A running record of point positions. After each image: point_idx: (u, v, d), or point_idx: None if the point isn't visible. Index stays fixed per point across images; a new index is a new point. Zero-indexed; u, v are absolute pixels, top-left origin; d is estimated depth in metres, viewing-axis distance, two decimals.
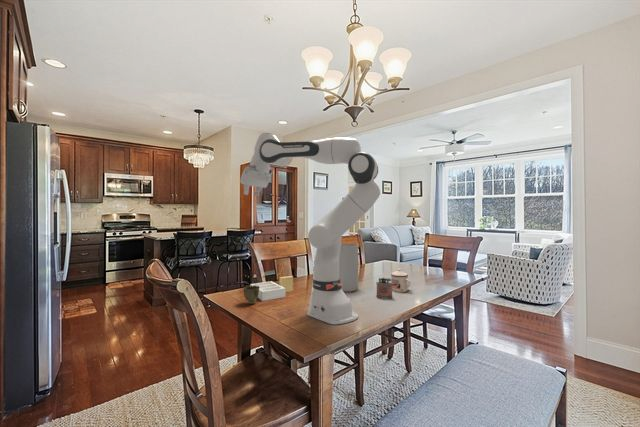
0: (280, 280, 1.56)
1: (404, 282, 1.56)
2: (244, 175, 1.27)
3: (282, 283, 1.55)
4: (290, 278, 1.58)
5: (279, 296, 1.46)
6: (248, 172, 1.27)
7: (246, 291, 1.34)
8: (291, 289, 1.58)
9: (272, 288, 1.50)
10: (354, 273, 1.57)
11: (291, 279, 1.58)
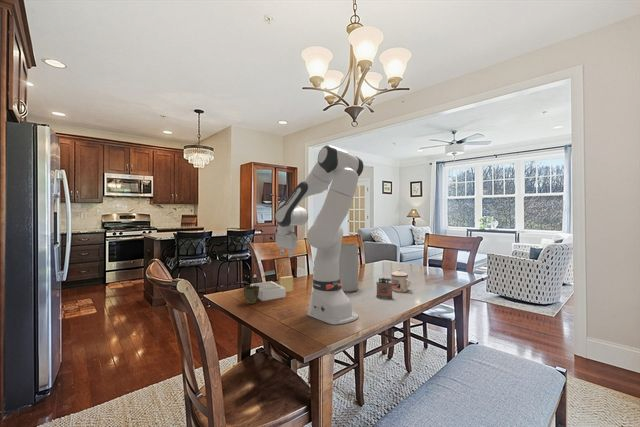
0: (280, 280, 1.56)
1: (404, 282, 1.56)
2: (294, 241, 1.49)
3: (282, 283, 1.55)
4: (290, 278, 1.58)
5: (279, 296, 1.46)
6: (295, 238, 1.50)
7: (246, 291, 1.34)
8: (291, 289, 1.58)
9: (272, 288, 1.50)
10: (354, 273, 1.57)
11: (291, 279, 1.58)
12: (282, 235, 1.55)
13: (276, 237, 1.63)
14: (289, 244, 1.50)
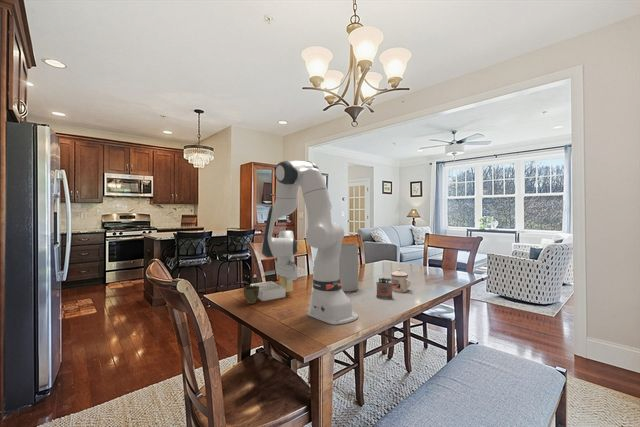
0: (280, 280, 1.56)
1: (404, 282, 1.56)
2: (294, 272, 1.49)
3: (282, 283, 1.55)
4: None
5: (279, 296, 1.46)
6: (296, 268, 1.50)
7: (246, 291, 1.34)
8: (291, 289, 1.58)
9: (272, 288, 1.50)
10: (354, 273, 1.57)
11: None
12: (282, 264, 1.55)
13: (276, 265, 1.63)
14: (289, 275, 1.50)
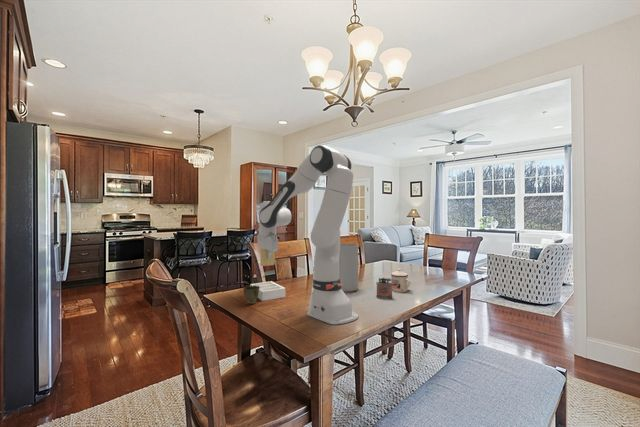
0: (261, 253, 1.50)
1: (404, 282, 1.56)
2: (274, 243, 1.43)
3: (263, 256, 1.49)
4: None
5: (279, 296, 1.46)
6: (276, 240, 1.44)
7: (246, 291, 1.34)
8: (273, 262, 1.52)
9: (272, 288, 1.50)
10: (354, 273, 1.57)
11: (273, 252, 1.52)
12: (263, 236, 1.49)
13: (258, 239, 1.58)
14: (270, 246, 1.44)
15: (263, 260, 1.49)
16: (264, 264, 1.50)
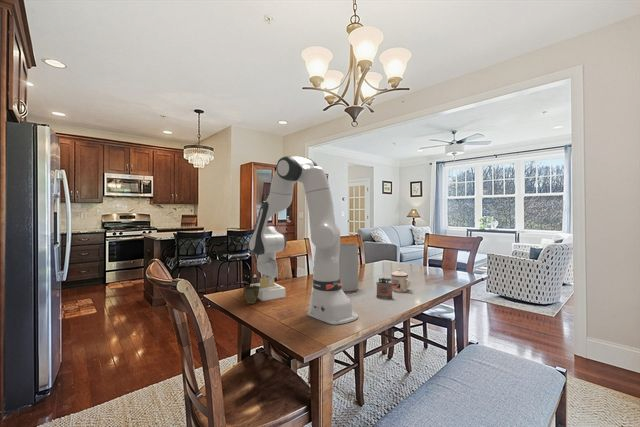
0: (261, 281, 1.50)
1: (404, 282, 1.56)
2: (274, 269, 1.43)
3: (263, 284, 1.49)
4: None
5: (279, 296, 1.46)
6: (276, 266, 1.44)
7: (246, 291, 1.34)
8: None
9: (272, 288, 1.50)
10: (354, 273, 1.57)
11: None
12: (263, 262, 1.49)
13: (257, 263, 1.57)
14: (270, 272, 1.44)
15: None
16: None
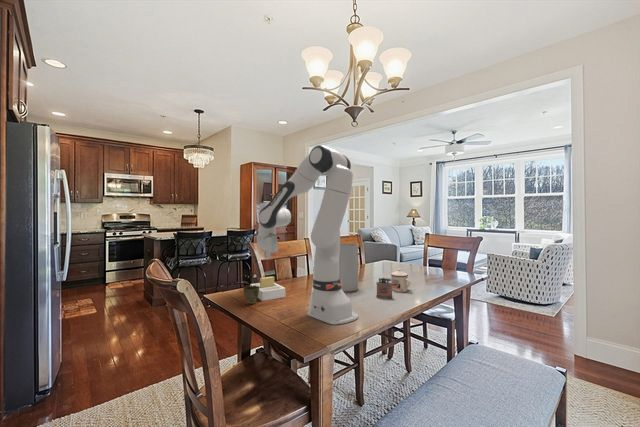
0: (261, 281, 1.50)
1: (404, 282, 1.56)
2: (274, 243, 1.43)
3: (263, 284, 1.49)
4: (272, 279, 1.52)
5: (279, 296, 1.46)
6: (276, 240, 1.44)
7: (246, 291, 1.34)
8: None
9: (272, 288, 1.50)
10: (354, 273, 1.57)
11: (272, 280, 1.52)
12: (263, 237, 1.49)
13: (257, 239, 1.57)
14: (269, 247, 1.44)
15: None
16: None
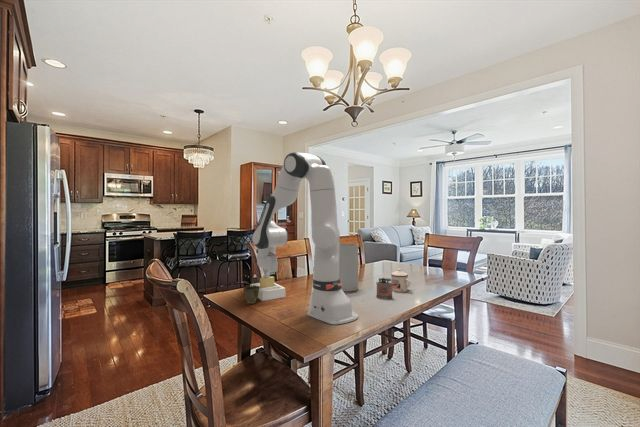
0: (260, 281, 1.50)
1: (404, 282, 1.56)
2: (274, 263, 1.43)
3: (262, 284, 1.49)
4: (271, 279, 1.52)
5: (279, 296, 1.46)
6: (276, 260, 1.44)
7: (246, 291, 1.34)
8: None
9: (272, 288, 1.50)
10: (354, 273, 1.57)
11: (272, 280, 1.52)
12: (262, 256, 1.49)
13: (257, 257, 1.57)
14: (269, 266, 1.44)
15: None
16: None
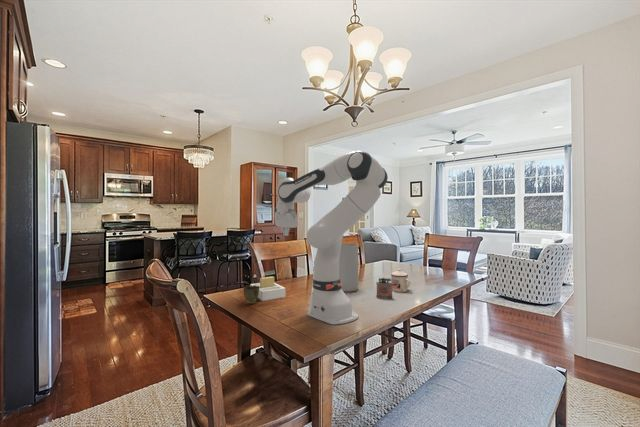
0: (261, 281, 1.50)
1: (404, 282, 1.56)
2: (294, 219, 1.42)
3: (263, 284, 1.49)
4: (272, 279, 1.52)
5: (279, 296, 1.46)
6: (296, 216, 1.43)
7: (246, 291, 1.34)
8: None
9: (272, 288, 1.50)
10: (354, 273, 1.57)
11: (272, 280, 1.52)
12: (281, 213, 1.48)
13: (275, 217, 1.57)
14: (289, 222, 1.43)
15: None
16: None
